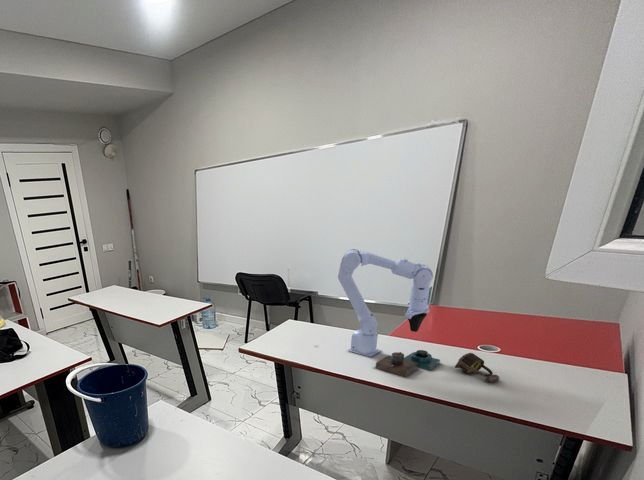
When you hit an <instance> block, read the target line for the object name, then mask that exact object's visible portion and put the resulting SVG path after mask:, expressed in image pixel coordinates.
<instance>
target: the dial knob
mask: <svg viewBox="0 0 644 480" xmlns="http://www.w3.org/2000/svg"><path fill="white" fill-rule="evenodd" d="M391 356H392V357H391V363H392V364H394V365H402V364H403V361H404V358H405V354H404V353H403V352H402V351H399V352H395V351H394V352H392V353H391Z"/></svg>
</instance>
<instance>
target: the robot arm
mask: <svg viewBox="0 0 644 480" xmlns="http://www.w3.org/2000/svg"><path fill="white" fill-rule="evenodd" d="M360 264H361V267H363V266H367V265H374V266H376V267H377V266H378V267H381V268H385V269H388V270H391V273H392V274H393V275H396V276H399V277H402V278H406V279H409V280H412V285H411V290H410V297H409V304H408V308H407V310H406V312H405V313H404V319H407V320H408V324H409V329H410V332H414V333H417V332H419V330H420V327H421V325H422V323H423V321H424V319H425V318H426V317H427V316H428V313H430V311H431V310H430V309H429V308H430V304H428V302H429V294H430V289H431V286H430V285H431V281H432V279H433V278H434V274H433V273H434V272H433V271H432V269H431V267H429V266H428V265H425V264H422V263H420V262H418V263H415V262H413V261H412V262H411V261H409V260H408V259H407V258H403V259H402V258H400V259H396V260H392V259H389V258H386V257H384V256H381V255H378V254H375V253H373V252H369V251H365V250H361V249H360V250H359V249H356V248H351V249H348V250H346V252H345V253H344V255H343V256H342V258H341V261H340V265H339V270H338V275H337V278H338V281H339V283H340V285H341V287H342V289H343V291H344V293H345V295H346V297H347V299H348V301H349V303H350V304H351V306H352V308H353V311H354V312H355V313H356V316H357V320H358V322H359V324H360V328H359V329H355V330H354V331H353V332H352V335H351V338H350V339H351V340H350V349H349V352H351V353H354V354H359V355H363V356H366V357H369V358H370V357H373V356H375V355H376V354H378V353H380V352H381V351H382V350H381V349H378V347H377V345H378V338H379V337H378V336H379V330H378V329H379V326H378V318H377V316H376V315H375V314H373V313H372V311H371V310H370V308H369V307H368V305H367V303H366V301H365V299H364V298H363V295H362V294H361V291H360V289H359V288H358V286H357V284H356V282H355V280H354V277H353V274H354V272H355V270H356V269H358V267H359V266H360Z"/></svg>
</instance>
